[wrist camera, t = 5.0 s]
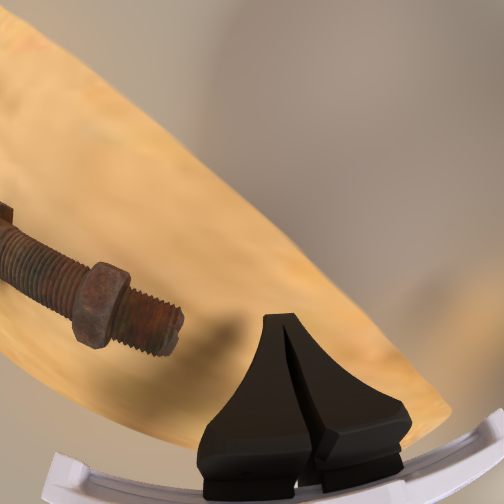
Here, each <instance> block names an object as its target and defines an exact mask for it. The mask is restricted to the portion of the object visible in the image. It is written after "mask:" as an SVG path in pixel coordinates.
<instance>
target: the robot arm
mask: <svg viewBox="0 0 504 504" xmlns="http://www.w3.org/2000/svg"><path fill="white" fill-rule="evenodd" d="M411 426H412V420H411V418H410V416H409V414H408V412H407V410H406V408H405V406H404V405H403V403H402V402H401V401H399V400H397V399H394V398H392V397H390V396H388V395H385V394H383V393H381V392H379V391H377V390H375V389H373V388H372V387H370V386H368V385H366V384H365V383H363V382H362V381H360V380H359V379H357V378H356V377H354V376H353V375H351V374H350V373H348V372H347V371H346V370H345V369H343V368H342V367H341V366H340V365H339V364H337V363H336V362H335V361H334V360H333V359H332V358H331V357H330V356H329V355H328V354H327V353H326V352H325V351H324V350H323V349H322V348H321V347H320V346H319V345H318V343H317V342H316V341H315V340H314V339H313V338H312V336H311V335H310V334H309V333H308V332H307V330H306V329H305V328H304V326H303V325H302V324H301V322H300V321H299V319H298V318H297V316H296V315H295V314H294V313H285V314H266V315H265V316H263V330H262V335H261V338H260V342H259V345H258V348H257V351H256V353H255V356H254V358H253V361H252V363H251V365H250V367H249V369H248V371H247V373H246V375H245V377H244V379H243V380H242V382H241V384H240V385H239V387H238V388H237V390H236V391H235V393H234V394H233V396H232V397H231V398H230V400H229V401H228V402H227V404H226V405H225V406H224V407H223V409H222V410H221V411H220V412H219V413H218V414H217V415H216V416H215V417H214V419H213V420H212V421H211V422H210V423H209V424H208V425H207V427H206V429H205V431H204V434H203V436H202V438H201V441H200V444H199V447H198V452H197V468H198V469H199V471H200V473H201V474H202V476H203V478H204V483H203V490H192V489H182V488H173V487H166V486H160V485H154V484H148V483H143V482H138V481H133V480H129V479H124V478H120V477H116V476H112V475H109V474H105V473H102V472H98V471H95V470H92V469H90V468H89V466H87V465H86V464H85V463H83V462H82V461H80V460H78V459H75V458H72V457H69V456H67V455H64V454H62V453H59V452H56V453H55V455H54V458H53V460H52V463H51V466H50V469H49V472H48V475H47V478H46V481H45V485H44V488H43V491H42V495H41V498H42V499H43V500H45V501H47V502H49V503H50V504H434V503H436V502H438V501H440V500H442V499H444V498H446V497H447V496H449V495H451V494H453V493H454V492H456V491H458V490H459V489H461V488H463V487H464V486H466V485H468V484H469V483H471V482H472V481H474V480H475V479H477V478H478V477H479V476H481V475H483V474H484V473H485V472H487V471H488V470H490V469H491V468H492V467H494V466H495V465H496V464H497V463H499V462H500V461H501V460H502V459H503V458H504V411H503V410H502V408H499V409H498V410H496V411H495V412H493V413H491V414H490V415H488V416H487V417H486V418H485V419H483V420H482V421H481V422H480V424H479V425H478V426H477V428H475V429H473V430H472V431H470V432H468V433H466V434H464V435H462V436H461V437H459V438H457V439H455V440H453V441H451V442H449V443H447V444H445V445H443V446H441V447H438V448H436V449H434V450H432V451H430V452H427V453H425V454H423V455H420V456H418V457H415V458H413V459H410V460H407V461H405V462H402V460H401V457H400V454H399V453H400V452H401V446H400V444H399V442H400V441H401V440H402V439H403V438H404V436H405V435H406V434H407V433H408V431H409V430H410V428H411Z"/></svg>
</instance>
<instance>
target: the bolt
mask: <svg viewBox="0 0 504 504" xmlns="http://www.w3.org/2000/svg"><path fill="white" fill-rule="evenodd" d="M12 222H13V208H11V207H9V206H7V205H6V204H4V203H2V202H0V279H2V280H4V281H5V282H7V283H9V284H10V285H12V286H13V287H14V288H16V289H17V290H19V291H20V292H22V293H24V295H26V296H28V297H29V298H32V299H33V300H35V301H36V302H38V303H41V304H42V305H43V306H46V307H47V308H50V309H51V310H52V311H54V310H55V312H56V313H60V315H62V316H64V317H65V318H69V320H70V321H72V329H73V332H74V334H75V337H76V339H77V341H79V342H81V343H83V344H85V345H87V346H89V347H91V348H93V349H99V348H104V347H106V346H107V345H108V343H109V341H110V339H111V337H112V339H113V341H114V340H116V339H117V341H118V342H119V343H120V342H123V344H124V345H126V344H128V345H129V346H130V348H131V347H133V346H134V347H135V349H136V350H137V349H139V348H140V350H141V352H144V351H145V350H146V352H147V354H150V353H152V355H153V357H154V356H156V355H157V356H159V357H160V356H165V357H166V356H169V355H170V354H171V353H172V351H173V350H174V348H175V346H176V345H177V342H178V339H179V338H178V332H179V331H180V329H181V327H182V325H183V322H184V315H183V313H182V312H181V308H180V307H178V308H175V305H174V304H173V305H171V306H170V303H169V302H168V303H165V304H164V300H162V301H160V302H159V300H158V298H156V299H153V296H152V295H151V296H149V297H148V296H147V293H146V294H143V295H142V292H141V291H139V292H137V291H136V288H135V289H133V290H131V287H130V286H129V285H130V281H131V277H130V274H129V273H128V272H126V271H124V270H122V269H119V268H117V267H115V266H113V265H111V264H108V263H105V262H98V263H97V264H95V265H94V266H93V268H92V269H89V267H88V266H87V267H85V266H84V264H81V265H80V263H79V262H77V261H76V262H75V260H73V259H71V258H69V257H66V256H65V255H62V254H61V253H60V252H57V251H56V250H53V249H52V248H49V247H48V246H46V245H44V244H43V243H41V242H38V241H36V240H35V239H33V238H31V237H29V236H28V235H26V234H25V233H22V232H21V231H20V230H19V229H18V228H17V227H15V226H14V225H12Z"/></svg>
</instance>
